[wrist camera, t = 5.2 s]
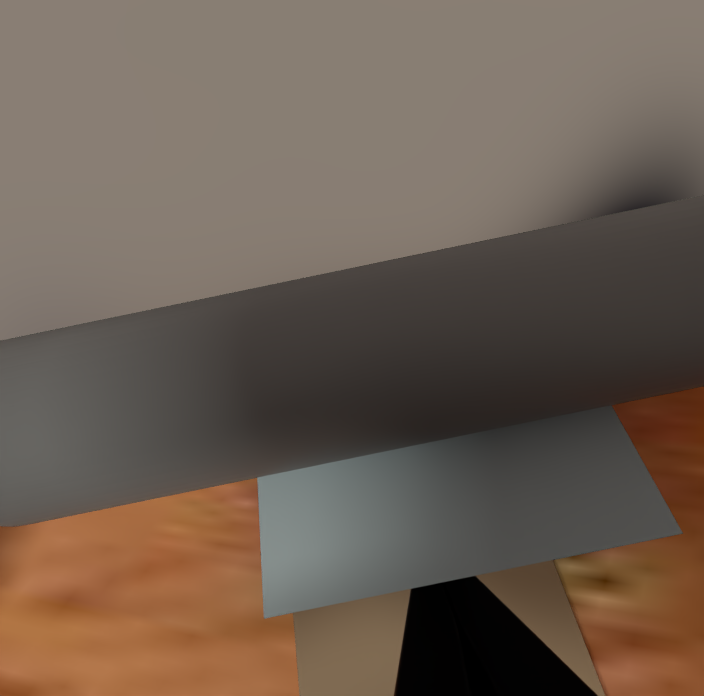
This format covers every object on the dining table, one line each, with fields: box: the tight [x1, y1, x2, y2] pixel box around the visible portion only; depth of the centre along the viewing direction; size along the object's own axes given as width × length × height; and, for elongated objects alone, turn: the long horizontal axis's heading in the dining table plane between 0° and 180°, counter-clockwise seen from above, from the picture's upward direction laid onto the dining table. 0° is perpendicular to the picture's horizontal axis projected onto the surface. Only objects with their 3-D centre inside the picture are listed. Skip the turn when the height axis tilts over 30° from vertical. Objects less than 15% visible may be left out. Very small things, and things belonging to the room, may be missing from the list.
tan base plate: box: [293, 560, 605, 696], centre depth 12 cm, size 14×9×5 cm, turn 10°
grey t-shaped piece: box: [0, 195, 704, 618], centre depth 9 cm, size 4×8×13 cm, turn 100°
